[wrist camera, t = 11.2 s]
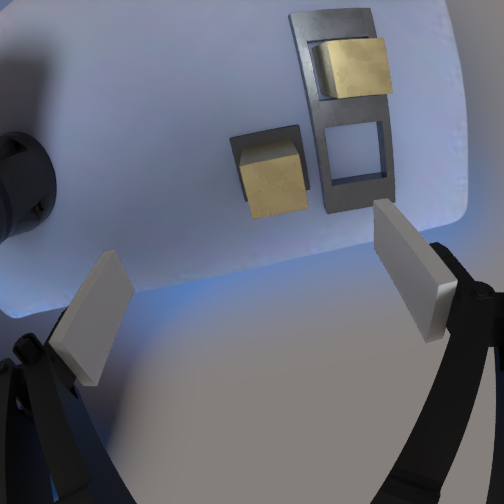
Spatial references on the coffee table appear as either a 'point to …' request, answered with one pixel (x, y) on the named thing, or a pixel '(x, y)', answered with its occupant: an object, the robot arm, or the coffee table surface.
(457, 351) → the robot arm
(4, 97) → the coffee table surface
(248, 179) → the tan textured cube
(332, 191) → the rail
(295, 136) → the rubber pad
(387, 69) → the block
